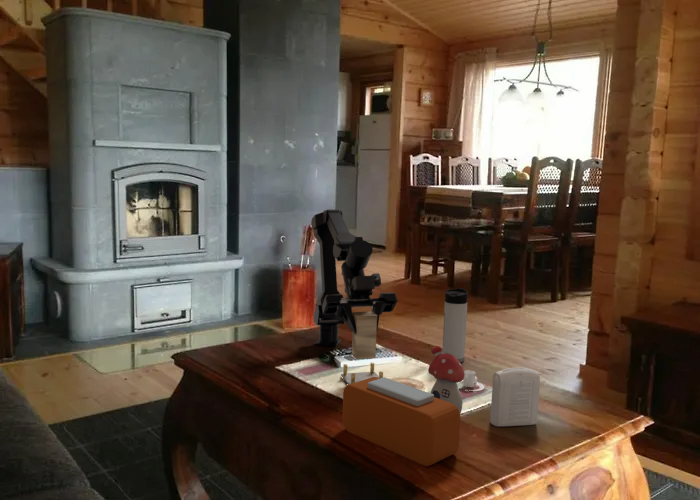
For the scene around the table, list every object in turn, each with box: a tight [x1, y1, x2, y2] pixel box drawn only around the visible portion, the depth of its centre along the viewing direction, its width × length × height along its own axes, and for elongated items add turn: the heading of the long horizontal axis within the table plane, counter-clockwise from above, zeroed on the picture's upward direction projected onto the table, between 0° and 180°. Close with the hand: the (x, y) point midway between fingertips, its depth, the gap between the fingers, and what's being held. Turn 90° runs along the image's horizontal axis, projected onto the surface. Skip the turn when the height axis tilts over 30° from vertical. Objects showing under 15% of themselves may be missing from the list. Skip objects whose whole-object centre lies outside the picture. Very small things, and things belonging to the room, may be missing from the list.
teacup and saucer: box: [462, 369, 485, 393], centre depth 166 cm, size 9×8×4 cm
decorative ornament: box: [428, 345, 465, 414], centre depth 146 cm, size 9×6×15 cm
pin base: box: [340, 362, 384, 385], centre depth 167 cm, size 9×9×3 cm
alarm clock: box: [342, 376, 461, 467], centre depth 132 cm, size 24×8×11 cm, turn 44°
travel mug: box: [441, 287, 468, 363], centre depth 187 cm, size 6×7×20 cm
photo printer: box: [489, 366, 541, 427], centre depth 143 cm, size 10×4×12 cm, turn 103°
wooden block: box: [351, 310, 378, 360], centre depth 166 cm, size 4×5×11 cm
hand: (365, 332), depth 165 cm, fingers closed on wooden block, 5 cm apart
